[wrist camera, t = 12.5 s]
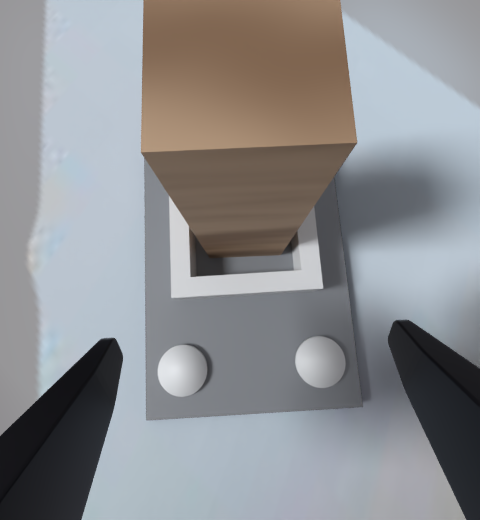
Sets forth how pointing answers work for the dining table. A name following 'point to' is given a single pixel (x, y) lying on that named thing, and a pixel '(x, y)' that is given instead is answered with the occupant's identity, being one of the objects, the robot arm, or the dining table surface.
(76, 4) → the dining table surface
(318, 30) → the tan tall block
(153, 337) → the grey insertion base
